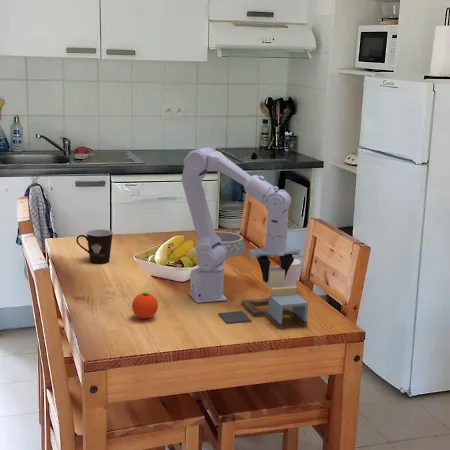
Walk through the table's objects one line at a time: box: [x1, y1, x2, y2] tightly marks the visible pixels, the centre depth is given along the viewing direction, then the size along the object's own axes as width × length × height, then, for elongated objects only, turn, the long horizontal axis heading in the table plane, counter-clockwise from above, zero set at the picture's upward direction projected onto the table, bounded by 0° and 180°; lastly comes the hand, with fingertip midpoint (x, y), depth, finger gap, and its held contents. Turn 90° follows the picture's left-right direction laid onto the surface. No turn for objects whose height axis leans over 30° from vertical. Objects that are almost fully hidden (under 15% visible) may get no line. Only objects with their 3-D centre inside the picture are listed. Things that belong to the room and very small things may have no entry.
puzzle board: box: [241, 297, 308, 330], centre depth 197 cm, size 15×20×1 cm
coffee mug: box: [75, 229, 114, 265], centre depth 237 cm, size 12×9×10 cm
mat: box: [218, 310, 252, 325], centre depth 193 cm, size 7×7×1 cm
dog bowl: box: [215, 230, 246, 258], centre depth 257 cm, size 17×18×5 cm
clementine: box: [131, 291, 159, 319], centre depth 190 cm, size 8×7×7 cm
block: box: [262, 265, 285, 290], centre depth 199 cm, size 4×4×5 cm
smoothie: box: [284, 255, 302, 288], centre depth 214 cm, size 6×6×14 cm
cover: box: [267, 286, 309, 324], centre depth 190 cm, size 8×8×7 cm
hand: (273, 280), depth 199 cm, fingers closed on block, 4 cm apart
